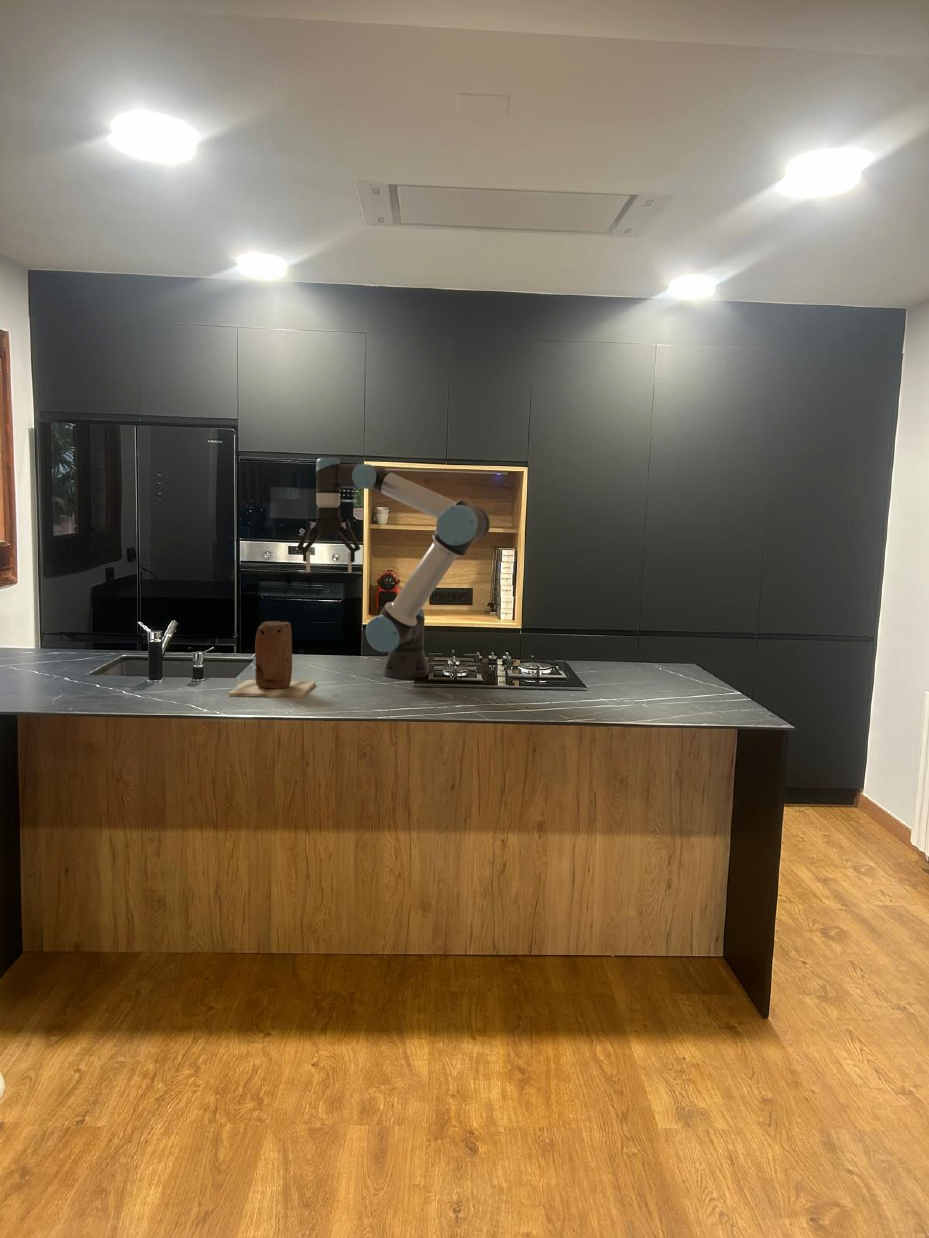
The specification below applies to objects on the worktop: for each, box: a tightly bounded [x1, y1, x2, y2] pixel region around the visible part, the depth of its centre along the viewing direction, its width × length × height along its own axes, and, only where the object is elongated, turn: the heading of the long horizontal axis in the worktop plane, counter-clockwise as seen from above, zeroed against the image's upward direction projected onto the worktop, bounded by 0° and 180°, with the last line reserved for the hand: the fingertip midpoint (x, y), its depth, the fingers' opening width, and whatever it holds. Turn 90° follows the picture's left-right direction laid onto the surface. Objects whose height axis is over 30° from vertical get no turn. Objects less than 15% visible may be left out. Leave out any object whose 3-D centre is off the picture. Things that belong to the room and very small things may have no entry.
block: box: [254, 620, 293, 688], centre depth 256 cm, size 11×8×20 cm
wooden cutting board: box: [228, 679, 316, 699], centre depth 257 cm, size 22×18×1 cm
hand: (329, 572), depth 275 cm, fingers open, 13 cm apart
